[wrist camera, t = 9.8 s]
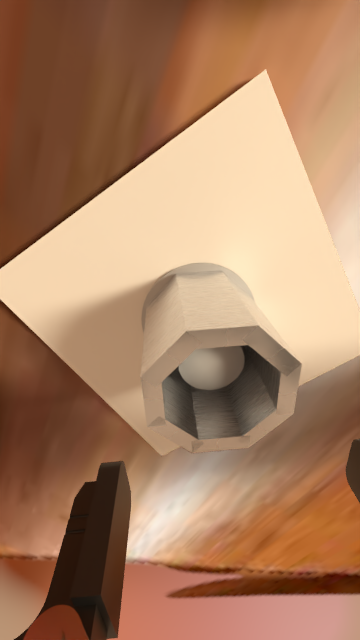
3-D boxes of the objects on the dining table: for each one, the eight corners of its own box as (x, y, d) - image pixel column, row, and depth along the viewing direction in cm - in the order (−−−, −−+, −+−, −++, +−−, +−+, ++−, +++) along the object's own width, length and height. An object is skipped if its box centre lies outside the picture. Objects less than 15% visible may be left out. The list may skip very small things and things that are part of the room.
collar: (253, 267, 17) (308, 321, 11) (247, 359, 20) (288, 444, 14) (143, 275, 17) (134, 334, 11) (153, 367, 20) (151, 457, 13)
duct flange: (365, 340, 21) (434, 395, 16) (161, 446, 25) (162, 520, 20) (259, 76, 14) (320, 15, 9) (-9, 276, 18) (-82, 321, 12)
